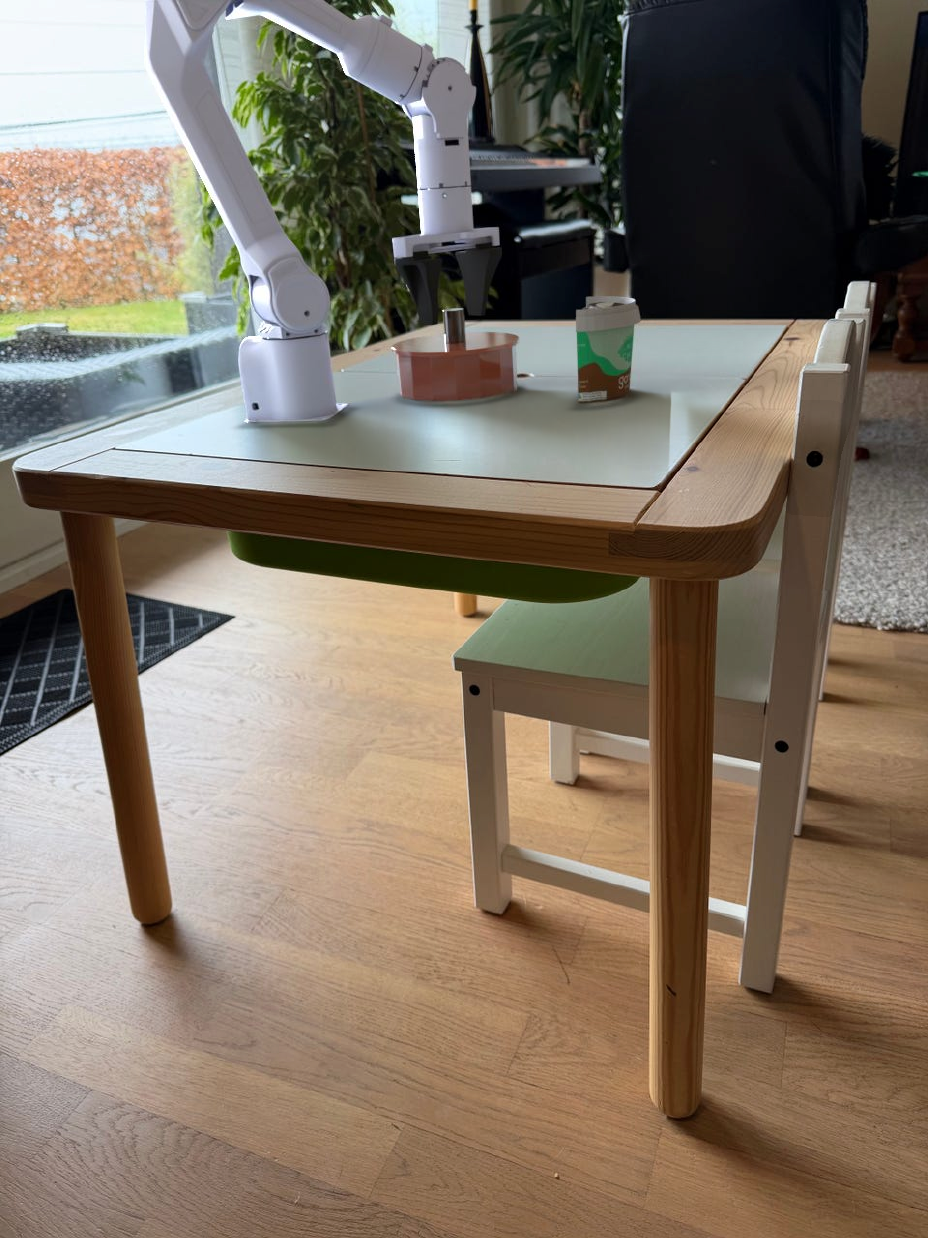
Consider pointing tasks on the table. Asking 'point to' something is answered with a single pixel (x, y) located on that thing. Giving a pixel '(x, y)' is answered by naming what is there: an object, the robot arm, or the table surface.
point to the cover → (455, 340)
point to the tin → (457, 376)
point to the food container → (605, 347)
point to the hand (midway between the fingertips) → (453, 319)
